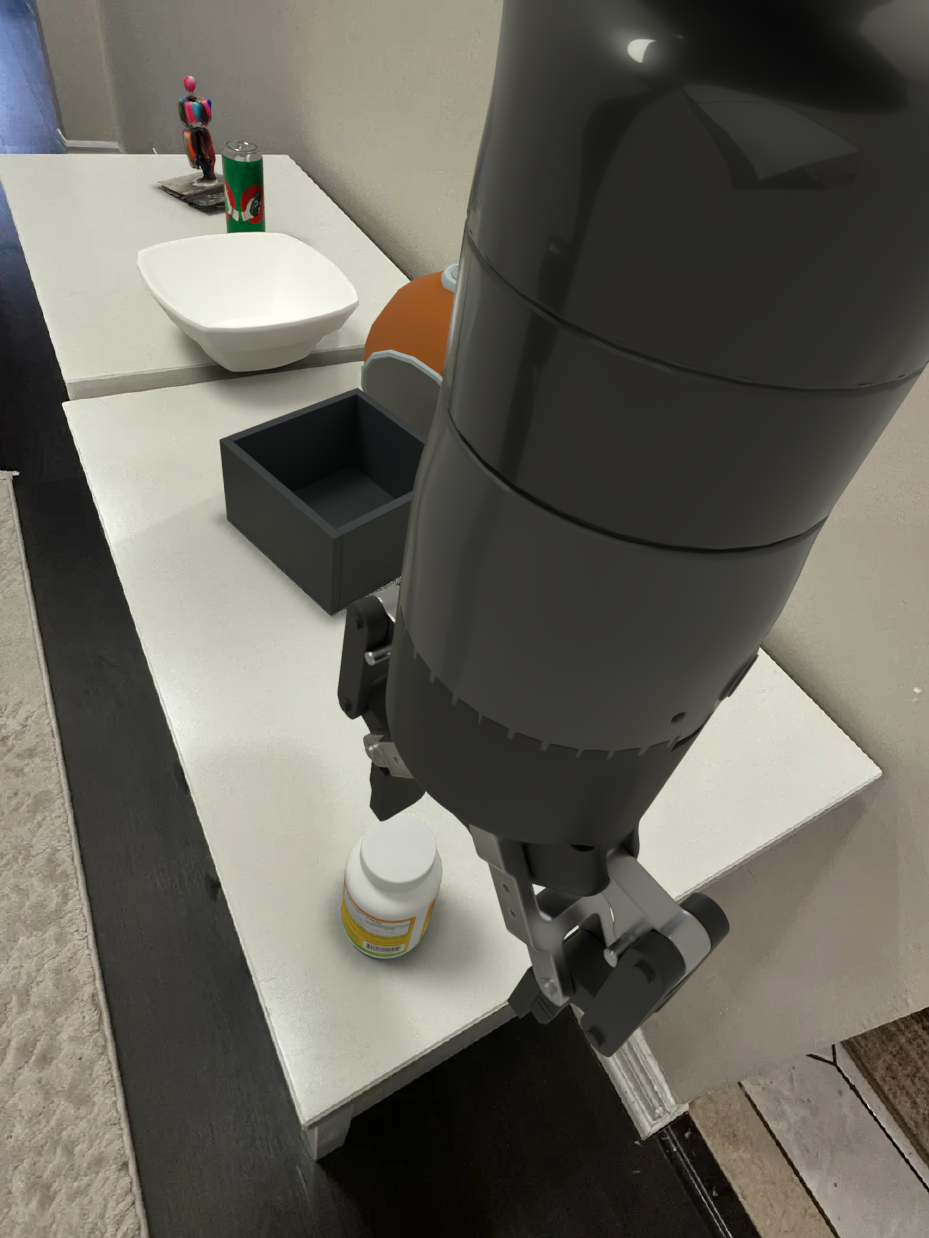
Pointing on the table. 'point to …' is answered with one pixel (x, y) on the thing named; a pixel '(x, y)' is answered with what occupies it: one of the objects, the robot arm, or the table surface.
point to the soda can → (243, 187)
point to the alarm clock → (411, 348)
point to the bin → (326, 494)
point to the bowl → (248, 295)
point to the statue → (197, 154)
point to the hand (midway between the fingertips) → (461, 892)
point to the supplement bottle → (391, 886)
